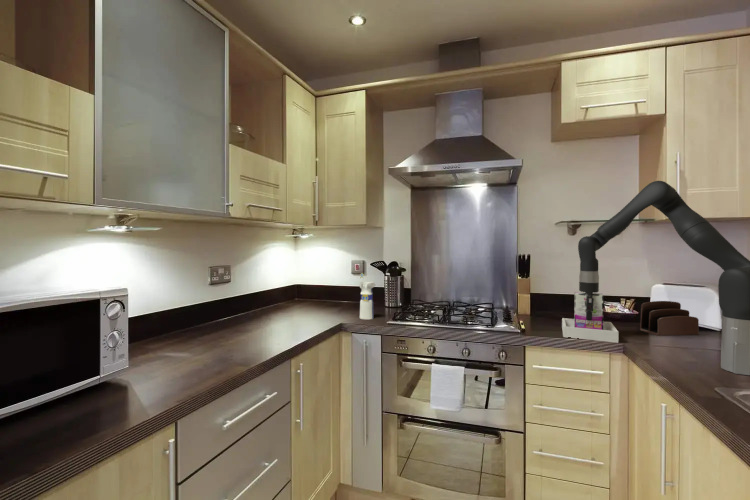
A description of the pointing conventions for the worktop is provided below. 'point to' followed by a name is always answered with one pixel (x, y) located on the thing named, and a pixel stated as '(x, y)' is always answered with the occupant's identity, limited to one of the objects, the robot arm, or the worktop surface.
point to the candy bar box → (581, 311)
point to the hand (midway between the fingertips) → (588, 318)
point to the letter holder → (667, 319)
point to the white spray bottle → (366, 299)
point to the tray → (590, 331)
